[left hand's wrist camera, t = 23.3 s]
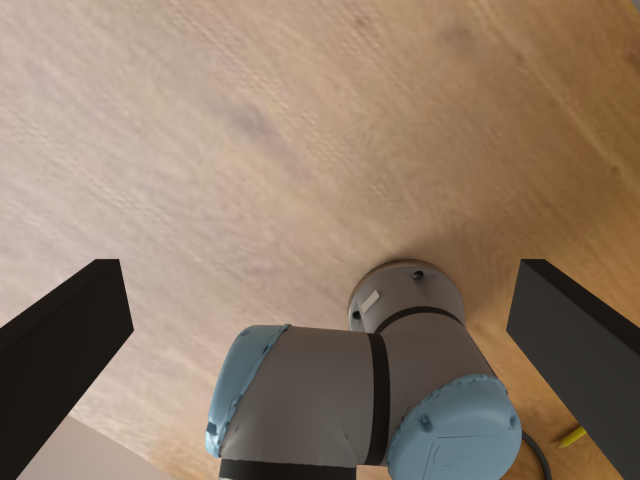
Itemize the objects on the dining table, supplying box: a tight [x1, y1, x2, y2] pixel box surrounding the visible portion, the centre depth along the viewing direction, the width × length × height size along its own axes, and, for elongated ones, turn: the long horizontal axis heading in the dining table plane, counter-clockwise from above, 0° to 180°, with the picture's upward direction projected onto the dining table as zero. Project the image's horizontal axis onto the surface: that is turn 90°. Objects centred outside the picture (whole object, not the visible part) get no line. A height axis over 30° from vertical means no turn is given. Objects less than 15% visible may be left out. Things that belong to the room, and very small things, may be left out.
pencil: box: [556, 426, 587, 449], centre depth 58 cm, size 16×1×1 cm, turn 140°
